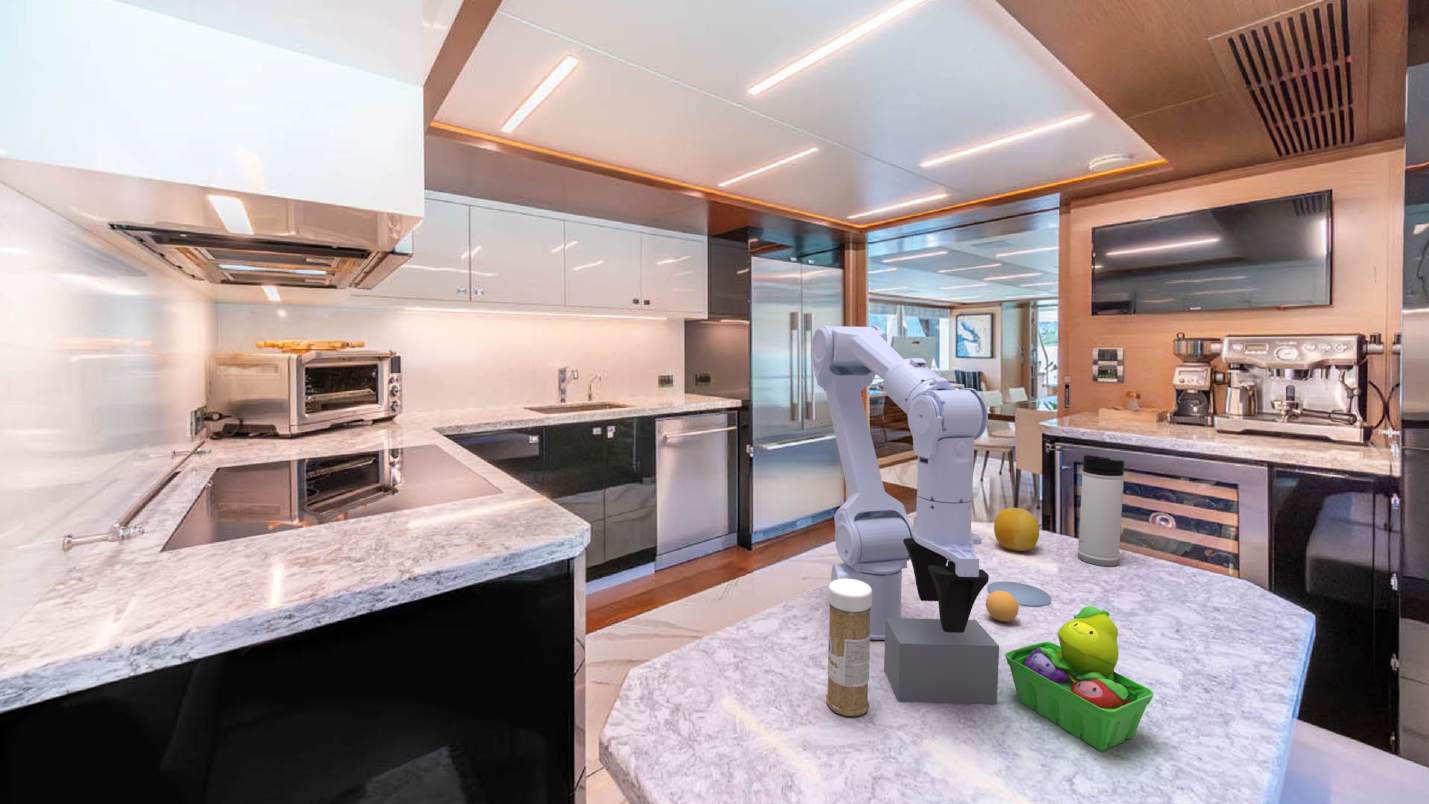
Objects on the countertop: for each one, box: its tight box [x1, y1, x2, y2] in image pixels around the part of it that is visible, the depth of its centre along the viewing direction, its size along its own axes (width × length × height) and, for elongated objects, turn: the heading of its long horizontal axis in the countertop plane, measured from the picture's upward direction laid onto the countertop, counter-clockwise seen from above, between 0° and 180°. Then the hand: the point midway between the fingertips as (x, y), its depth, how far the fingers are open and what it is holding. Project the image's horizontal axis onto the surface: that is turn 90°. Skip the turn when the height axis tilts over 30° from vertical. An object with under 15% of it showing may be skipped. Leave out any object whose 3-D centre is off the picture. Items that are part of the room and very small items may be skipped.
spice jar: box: [826, 579, 872, 717], centre depth 59 cm, size 5×5×14 cm
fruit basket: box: [1004, 605, 1154, 752], centre depth 58 cm, size 11×9×11 cm
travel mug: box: [1077, 454, 1125, 567], centre depth 102 cm, size 6×7×20 cm
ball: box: [985, 591, 1020, 623], centre depth 79 cm, size 4×4×4 cm
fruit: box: [993, 507, 1040, 552], centre depth 109 cm, size 9×8×8 cm
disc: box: [986, 581, 1052, 607], centre depth 88 cm, size 9×9×1 cm
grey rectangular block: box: [883, 617, 1000, 705], centre depth 63 cm, size 11×6×7 cm, turn 87°
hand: (940, 614), depth 63 cm, fingers open, 7 cm apart
